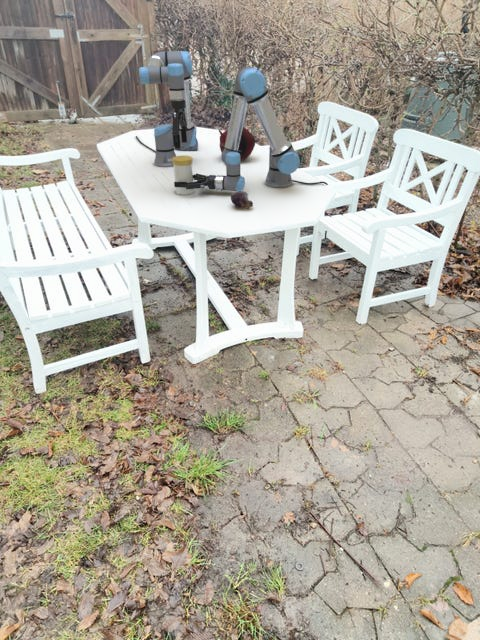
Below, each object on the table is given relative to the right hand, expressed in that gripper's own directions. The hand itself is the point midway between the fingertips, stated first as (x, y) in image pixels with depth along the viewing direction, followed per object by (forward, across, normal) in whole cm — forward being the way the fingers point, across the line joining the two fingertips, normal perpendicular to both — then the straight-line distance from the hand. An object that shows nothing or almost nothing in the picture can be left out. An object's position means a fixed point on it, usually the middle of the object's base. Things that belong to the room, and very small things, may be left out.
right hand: (178, 180), depth 245 cm
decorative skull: (-19, +70, -6) cm, 72 cm away
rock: (-39, -19, -6) cm, 43 cm away
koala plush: (+24, +92, -6) cm, 95 cm away
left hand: (-3, 0, +19) cm, 19 cm away
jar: (-3, 0, -6) cm, 7 cm away
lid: (-3, 0, +12) cm, 12 cm away
